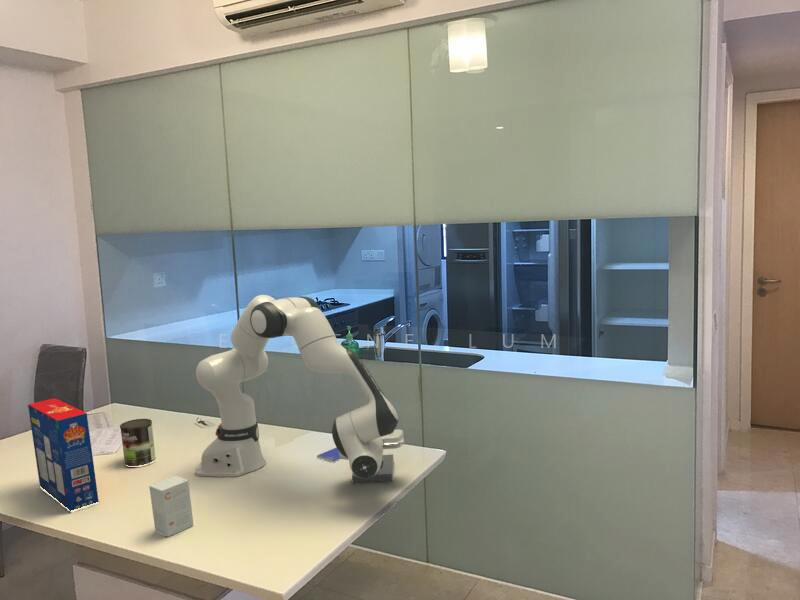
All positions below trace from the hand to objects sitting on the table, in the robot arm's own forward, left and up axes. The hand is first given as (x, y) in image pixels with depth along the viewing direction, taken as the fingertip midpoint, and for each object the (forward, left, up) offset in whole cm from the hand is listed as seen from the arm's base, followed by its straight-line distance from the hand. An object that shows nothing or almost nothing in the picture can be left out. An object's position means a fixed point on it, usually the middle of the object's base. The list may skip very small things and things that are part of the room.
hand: (371, 431), depth 211 cm
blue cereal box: (-94, -6, -13) cm, 95 cm away
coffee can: (-82, +20, -13) cm, 86 cm away
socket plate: (0, -1, -13) cm, 13 cm away
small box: (-52, -32, -13) cm, 62 cm away
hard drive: (-13, +17, -14) cm, 25 cm away
